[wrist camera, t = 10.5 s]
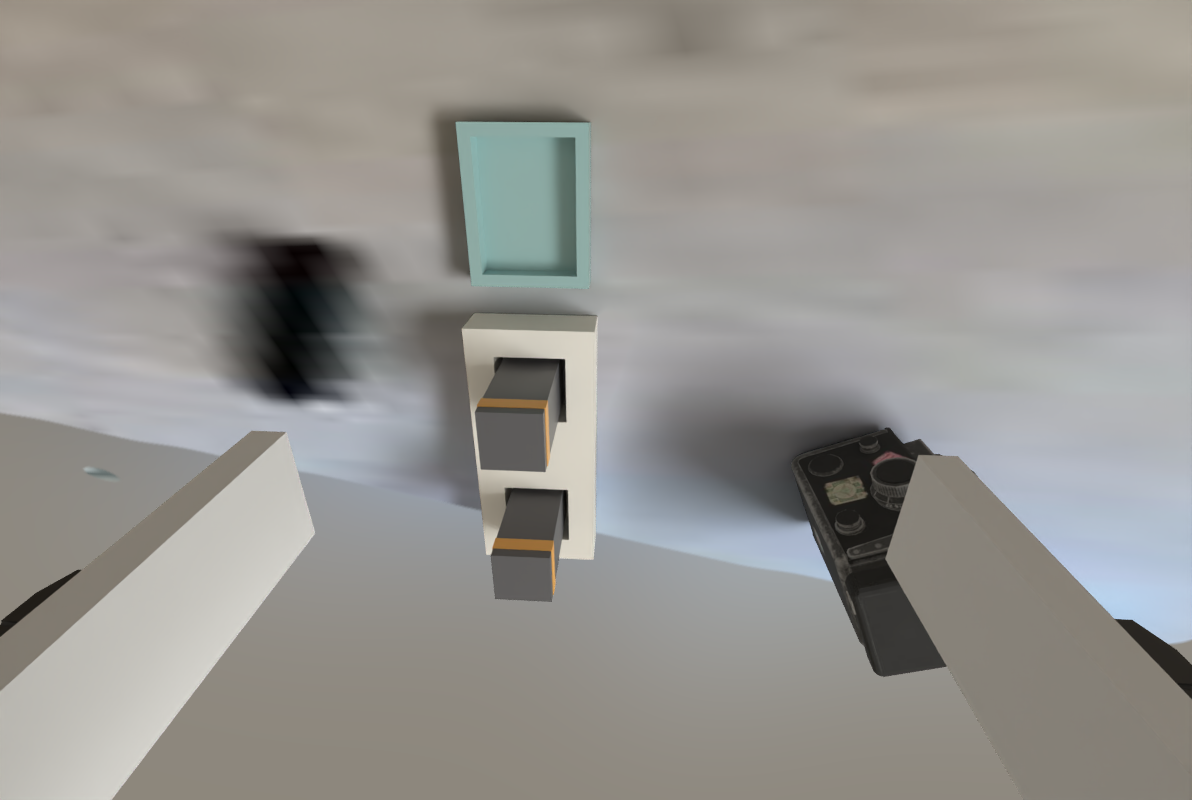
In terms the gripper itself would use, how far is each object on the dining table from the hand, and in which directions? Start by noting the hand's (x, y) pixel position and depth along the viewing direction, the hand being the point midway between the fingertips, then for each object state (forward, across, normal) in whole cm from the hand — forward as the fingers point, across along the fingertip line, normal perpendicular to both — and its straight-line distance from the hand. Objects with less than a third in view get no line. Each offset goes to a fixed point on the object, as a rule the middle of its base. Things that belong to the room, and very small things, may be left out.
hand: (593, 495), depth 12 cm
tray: (+29, -6, +2) cm, 29 cm away
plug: (+28, -6, -10) cm, 31 cm away
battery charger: (+29, -6, -16) cm, 33 cm away
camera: (+29, +20, -18) cm, 39 cm away
